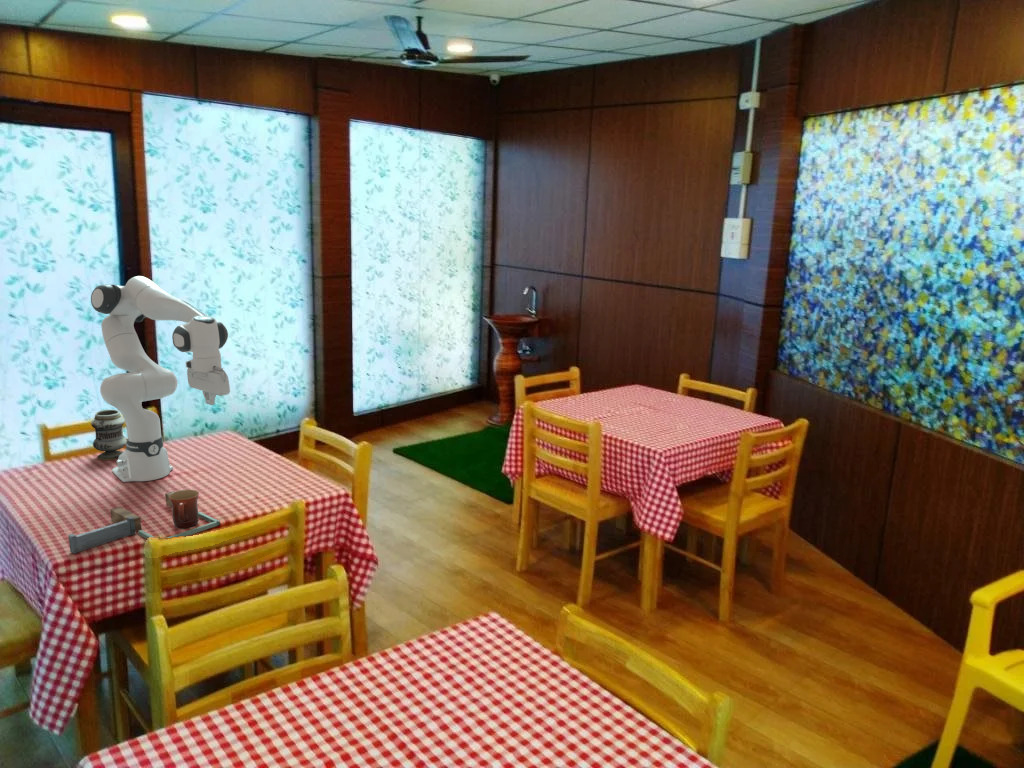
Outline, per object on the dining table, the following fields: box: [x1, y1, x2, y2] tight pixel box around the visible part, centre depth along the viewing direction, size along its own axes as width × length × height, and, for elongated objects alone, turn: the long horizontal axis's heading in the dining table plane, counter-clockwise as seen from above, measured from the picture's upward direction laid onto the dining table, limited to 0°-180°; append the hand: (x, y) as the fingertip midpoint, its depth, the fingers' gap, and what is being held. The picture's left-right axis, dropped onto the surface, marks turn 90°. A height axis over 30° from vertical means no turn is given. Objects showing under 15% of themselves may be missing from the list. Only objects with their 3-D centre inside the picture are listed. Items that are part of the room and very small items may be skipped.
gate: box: [67, 516, 137, 554], centre depth 232 cm, size 2×18×5 cm, turn 142°
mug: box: [169, 489, 200, 530], centre depth 244 cm, size 12×9×10 cm
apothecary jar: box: [90, 409, 128, 461], centre depth 307 cm, size 12×12×18 cm
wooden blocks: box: [110, 490, 176, 532], centre depth 252 cm, size 13×21×4 cm, turn 142°
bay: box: [137, 511, 221, 539], centre depth 243 cm, size 12×20×1 cm, turn 142°
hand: (210, 404), depth 269 cm, fingers closed
